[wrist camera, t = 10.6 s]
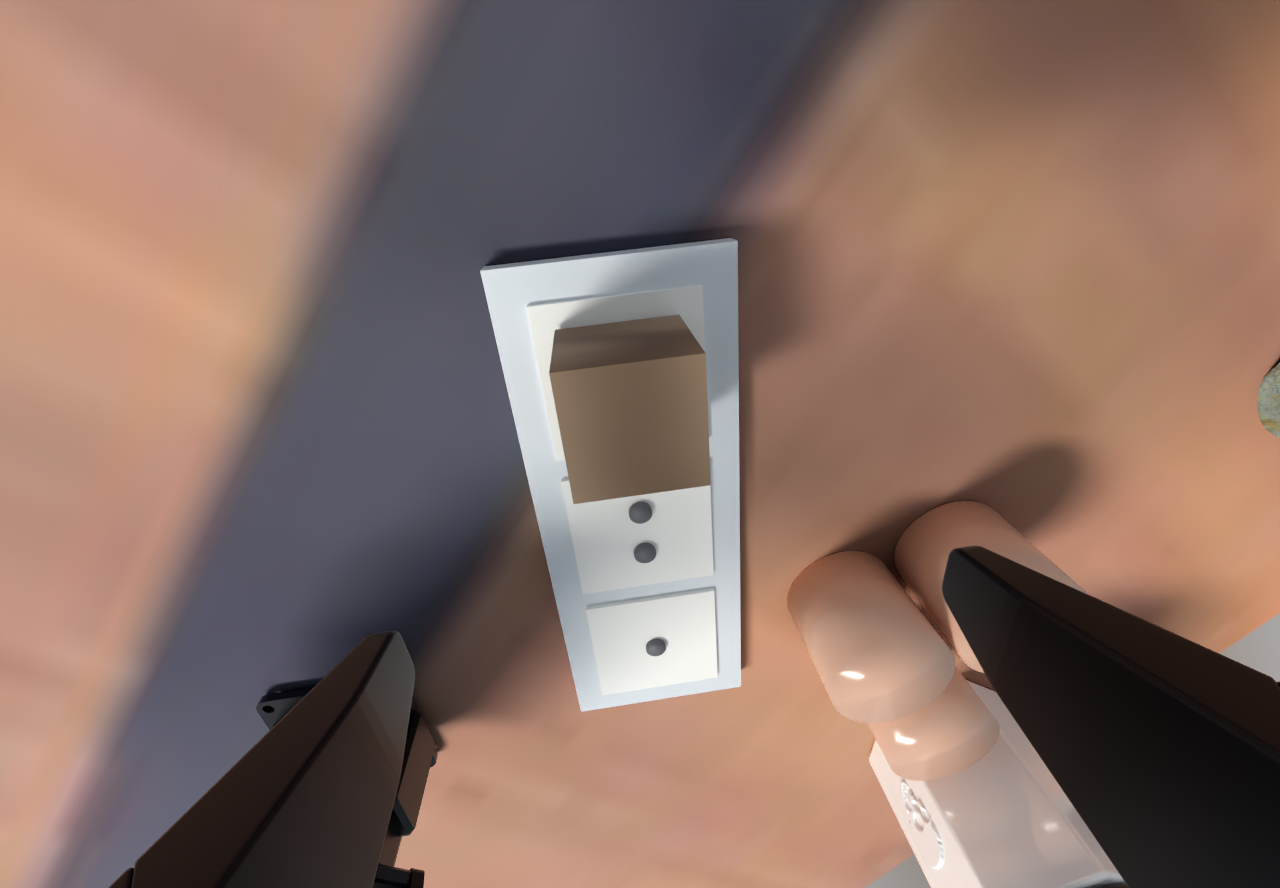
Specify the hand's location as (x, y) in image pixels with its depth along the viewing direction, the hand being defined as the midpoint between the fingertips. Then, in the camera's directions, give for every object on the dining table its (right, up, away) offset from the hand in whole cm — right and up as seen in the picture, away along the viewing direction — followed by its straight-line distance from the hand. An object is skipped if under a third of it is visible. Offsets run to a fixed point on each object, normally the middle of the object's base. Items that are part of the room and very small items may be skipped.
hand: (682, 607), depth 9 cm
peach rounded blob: (+14, -2, +16) cm, 21 cm away
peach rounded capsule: (+9, -4, +17) cm, 19 cm away
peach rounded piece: (+12, -8, +19) cm, 24 cm away
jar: (+17, -14, +23) cm, 32 cm away
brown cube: (-1, +5, +9) cm, 11 cm away
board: (-1, 0, +13) cm, 13 cm away
